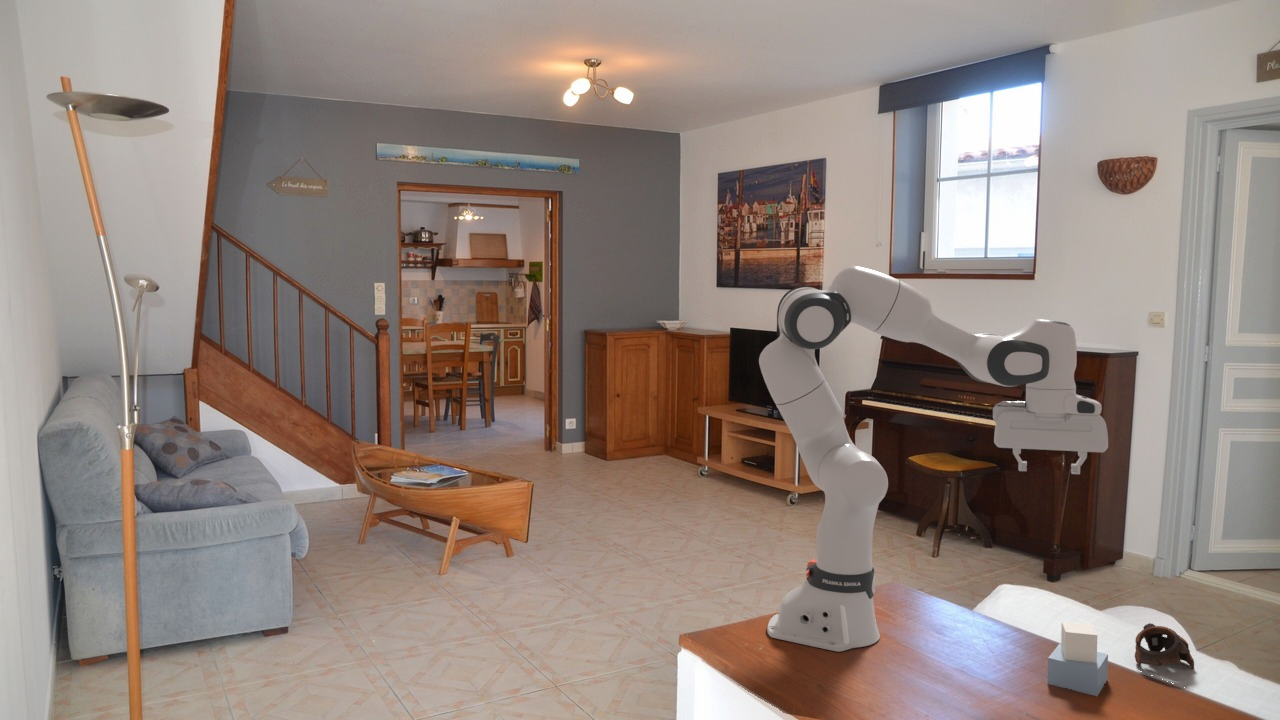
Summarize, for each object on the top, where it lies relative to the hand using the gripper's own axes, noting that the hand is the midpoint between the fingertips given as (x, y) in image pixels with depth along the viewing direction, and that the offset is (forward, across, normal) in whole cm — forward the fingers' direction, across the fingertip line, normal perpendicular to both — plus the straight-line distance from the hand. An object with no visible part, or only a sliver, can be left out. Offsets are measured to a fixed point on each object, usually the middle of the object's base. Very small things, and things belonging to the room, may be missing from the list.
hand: (1048, 472), depth 171 cm
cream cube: (+29, +4, -18) cm, 35 cm away
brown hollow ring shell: (+34, +20, -4) cm, 40 cm away
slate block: (+34, +4, -18) cm, 39 cm away
